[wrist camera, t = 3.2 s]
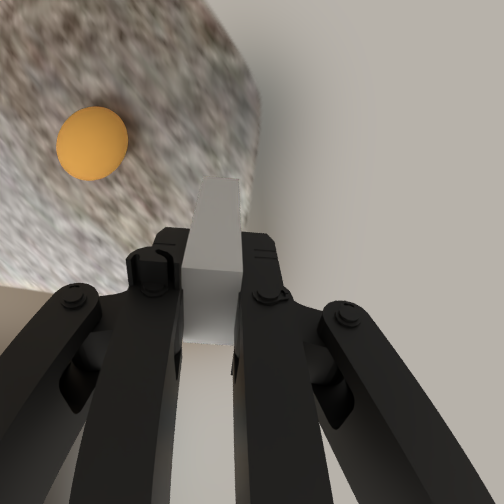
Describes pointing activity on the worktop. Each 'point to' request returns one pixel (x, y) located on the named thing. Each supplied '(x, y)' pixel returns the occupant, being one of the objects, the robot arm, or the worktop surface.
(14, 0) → the worktop surface
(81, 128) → the ball
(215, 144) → the worktop surface
